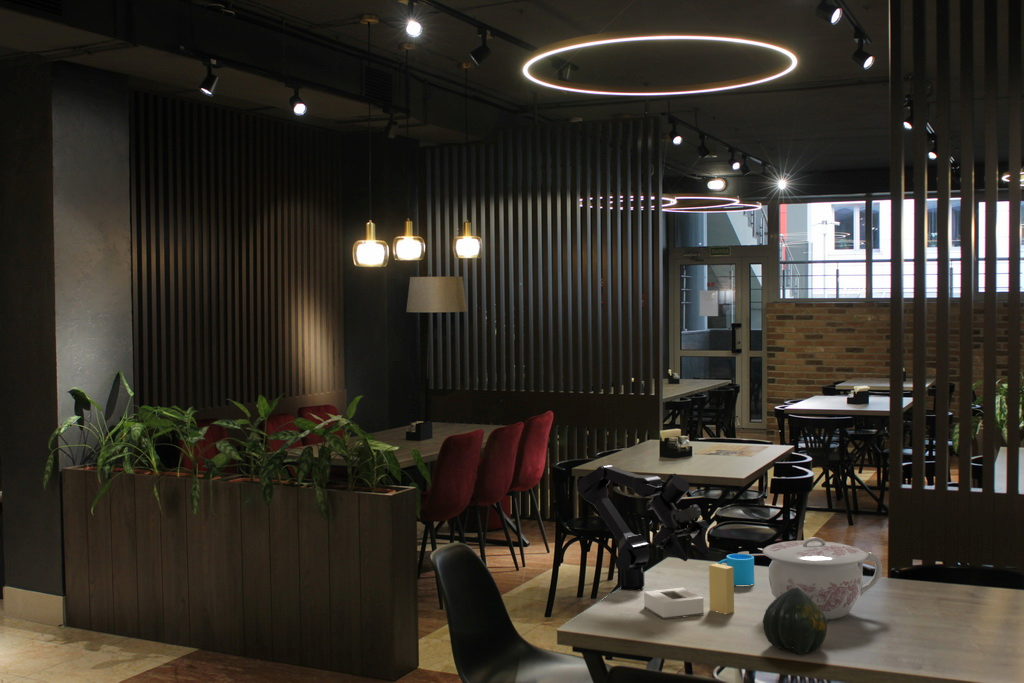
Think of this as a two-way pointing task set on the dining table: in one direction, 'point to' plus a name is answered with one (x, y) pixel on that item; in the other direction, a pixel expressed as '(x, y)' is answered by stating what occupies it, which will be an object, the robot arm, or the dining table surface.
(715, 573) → the block
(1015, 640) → the dining table surface
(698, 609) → the white slotted base
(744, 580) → the mug
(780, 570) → the chamber pot
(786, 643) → the squash
